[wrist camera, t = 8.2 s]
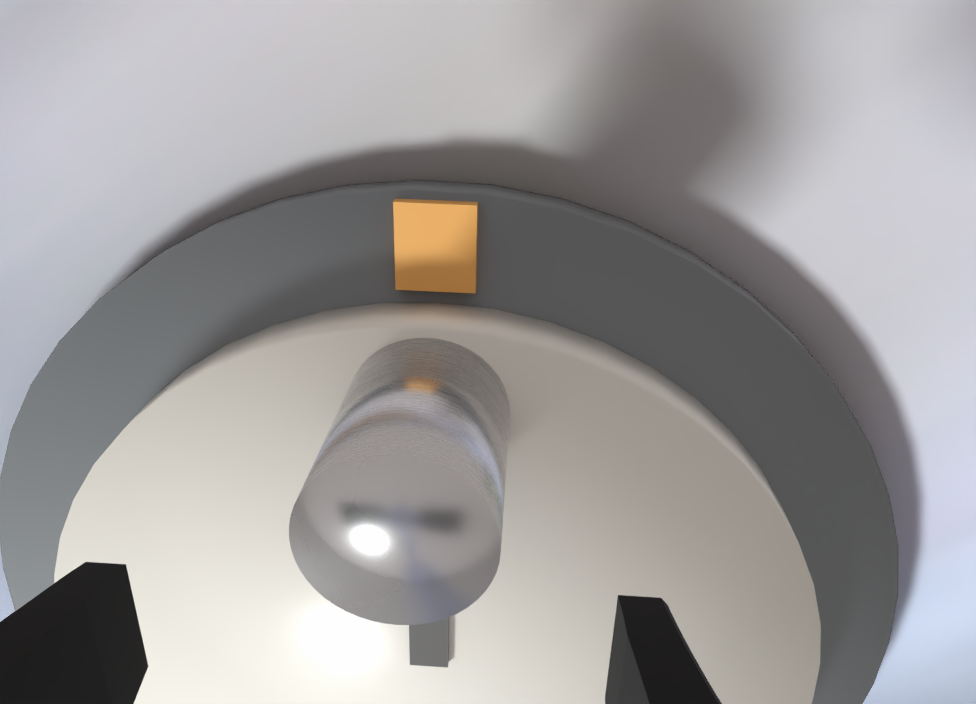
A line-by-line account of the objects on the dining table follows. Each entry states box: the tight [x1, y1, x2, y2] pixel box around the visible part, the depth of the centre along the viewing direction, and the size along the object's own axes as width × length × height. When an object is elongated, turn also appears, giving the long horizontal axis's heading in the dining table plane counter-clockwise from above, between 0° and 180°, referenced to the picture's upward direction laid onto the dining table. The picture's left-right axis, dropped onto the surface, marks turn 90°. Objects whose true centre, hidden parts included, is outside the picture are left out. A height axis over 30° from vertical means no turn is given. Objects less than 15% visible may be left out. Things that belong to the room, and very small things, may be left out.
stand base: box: [0, 180, 898, 704], centre depth 22 cm, size 25×25×1 cm
